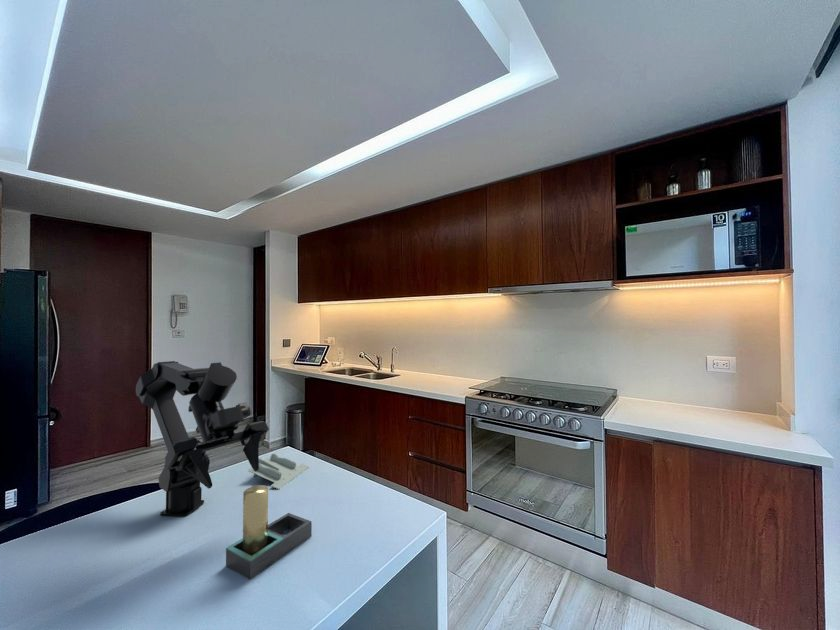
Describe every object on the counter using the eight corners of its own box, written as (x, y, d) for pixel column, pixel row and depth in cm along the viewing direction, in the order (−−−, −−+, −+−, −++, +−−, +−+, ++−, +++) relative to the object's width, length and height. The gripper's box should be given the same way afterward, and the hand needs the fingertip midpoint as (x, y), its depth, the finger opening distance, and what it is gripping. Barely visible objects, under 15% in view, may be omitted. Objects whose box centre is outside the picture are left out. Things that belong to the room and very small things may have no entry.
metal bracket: (241, 465, 95) (275, 446, 109) (236, 485, 95) (270, 464, 110) (285, 485, 92) (314, 463, 106) (279, 505, 92) (309, 480, 106)
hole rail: (250, 579, 59) (250, 560, 59) (225, 566, 63) (226, 547, 63) (311, 536, 72) (311, 519, 72) (288, 526, 75) (288, 511, 75)
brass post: (237, 566, 63) (238, 494, 63) (254, 551, 67) (255, 484, 67) (256, 570, 61) (256, 497, 62) (272, 555, 65) (272, 486, 66)
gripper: (172, 399, 65) (196, 473, 58) (265, 385, 80) (293, 442, 73) (155, 434, 69) (177, 506, 62) (246, 414, 84) (271, 470, 78)
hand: (235, 478), depth 69 cm, fingers open, 9 cm apart
